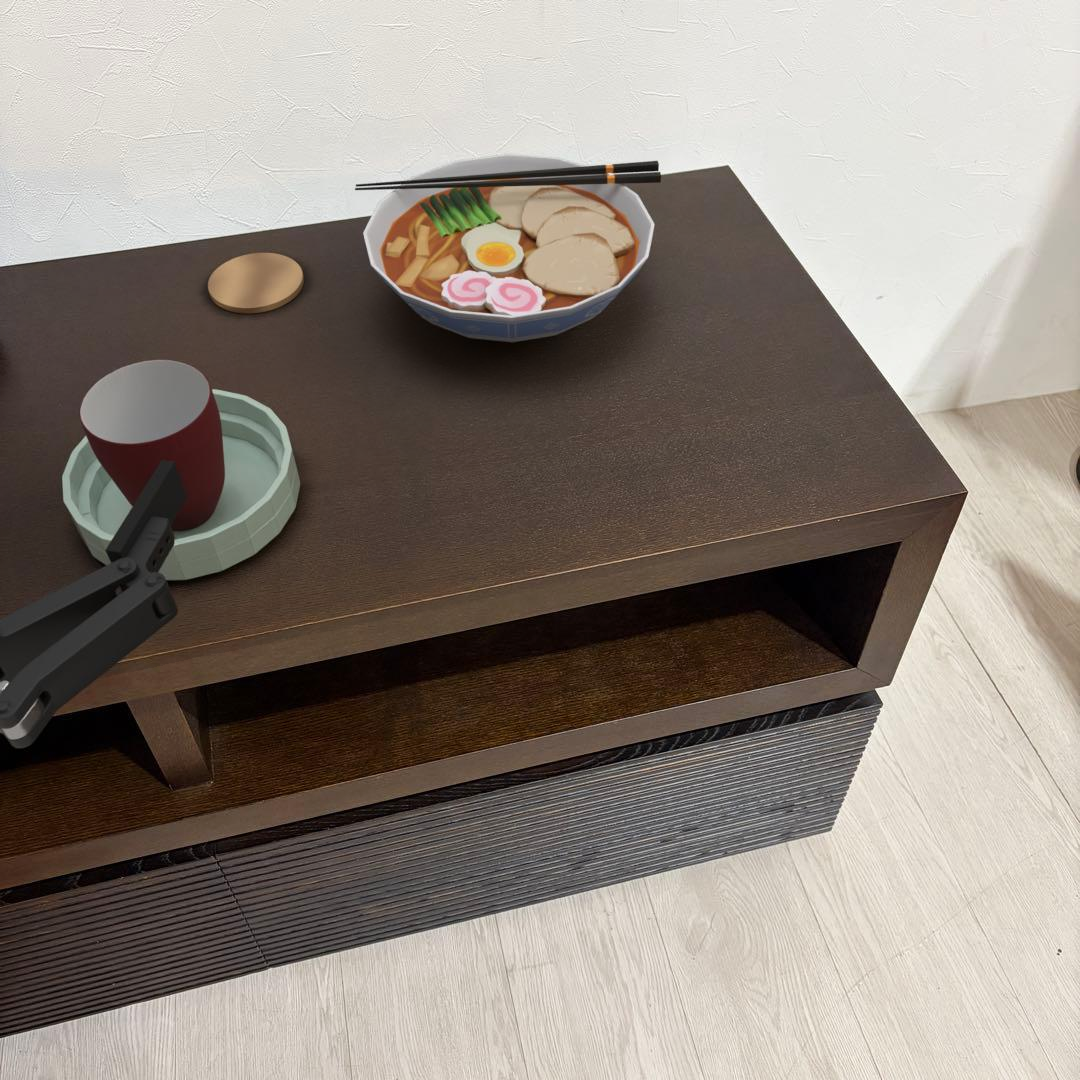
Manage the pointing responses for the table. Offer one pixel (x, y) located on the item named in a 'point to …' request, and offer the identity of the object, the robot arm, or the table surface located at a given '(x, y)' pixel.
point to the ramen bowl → (511, 242)
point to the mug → (158, 432)
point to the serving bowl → (241, 513)
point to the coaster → (255, 283)
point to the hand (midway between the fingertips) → (60, 461)
